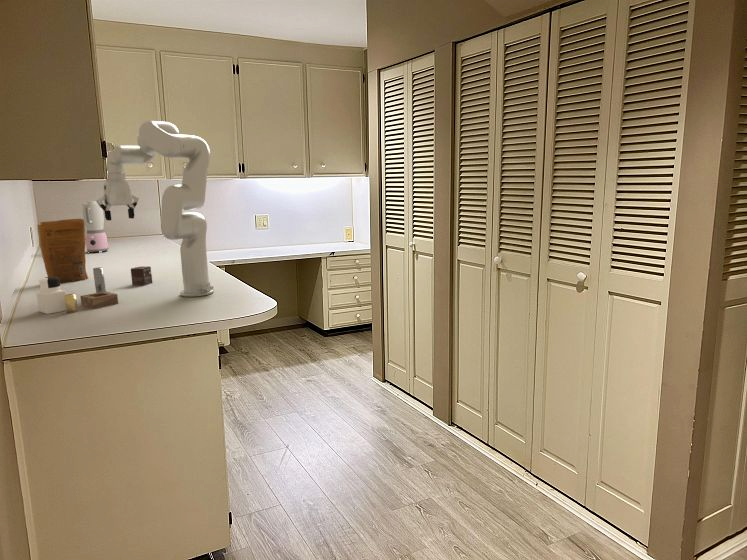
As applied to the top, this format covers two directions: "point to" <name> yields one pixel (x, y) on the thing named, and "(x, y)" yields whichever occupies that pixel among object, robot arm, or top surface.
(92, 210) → the blender
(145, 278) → the box
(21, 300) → the top surface
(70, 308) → the short peg
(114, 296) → the hole block
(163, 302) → the top surface
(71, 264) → the pancake mix bag
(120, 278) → the top surface
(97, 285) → the long peg
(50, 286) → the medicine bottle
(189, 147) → the robot arm
